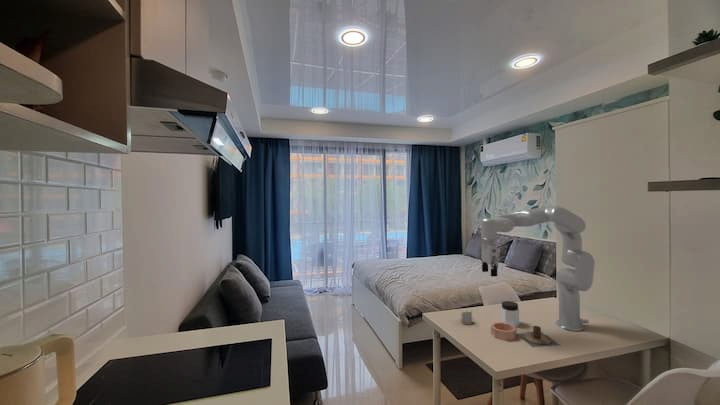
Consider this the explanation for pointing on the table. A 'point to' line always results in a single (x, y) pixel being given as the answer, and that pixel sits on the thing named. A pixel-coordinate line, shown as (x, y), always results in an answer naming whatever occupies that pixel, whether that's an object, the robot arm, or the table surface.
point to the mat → (537, 344)
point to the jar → (510, 313)
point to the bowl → (503, 331)
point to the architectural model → (466, 318)
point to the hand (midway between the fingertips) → (489, 273)
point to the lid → (537, 337)
